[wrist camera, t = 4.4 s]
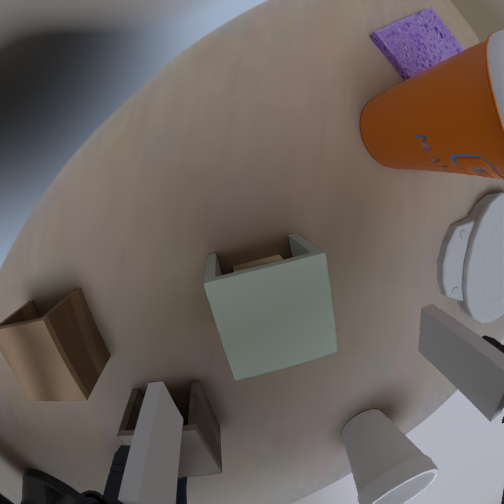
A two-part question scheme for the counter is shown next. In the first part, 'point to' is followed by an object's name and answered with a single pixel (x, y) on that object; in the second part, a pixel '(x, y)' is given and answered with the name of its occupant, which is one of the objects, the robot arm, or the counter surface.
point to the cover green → (274, 311)
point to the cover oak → (185, 433)
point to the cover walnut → (54, 350)
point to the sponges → (416, 43)
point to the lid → (476, 260)
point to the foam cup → (385, 460)
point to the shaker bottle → (444, 116)
